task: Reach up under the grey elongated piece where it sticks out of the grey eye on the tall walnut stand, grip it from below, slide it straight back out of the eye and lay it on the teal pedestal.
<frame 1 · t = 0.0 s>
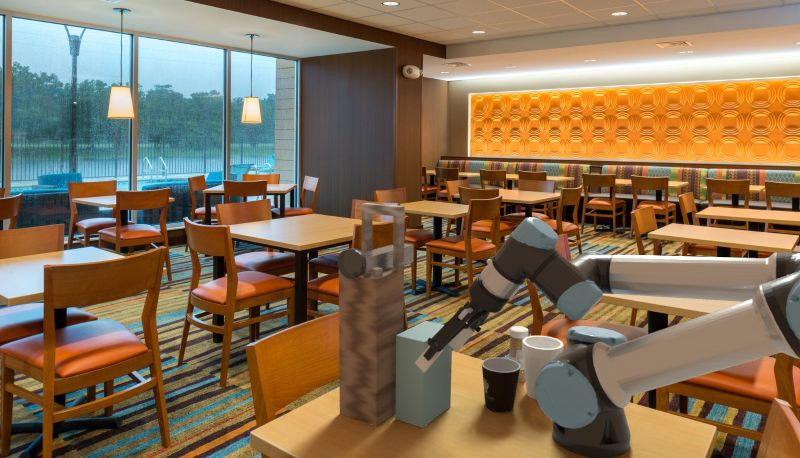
hand: (437, 357, 124), 15 cm above the table, tool tilted 35°, fingers open, 13 cm apart
grey elongated piece: (382, 268, 130), point 32 cm above the table, touching walnut stand
foam cup: (540, 395, 142), on the table
coffee mug: (499, 404, 137), on the table
teal pedestal: (423, 412, 132), on the table
walnut stand: (371, 411, 132), on the table
sprinkles bottle: (516, 380, 150), on the table
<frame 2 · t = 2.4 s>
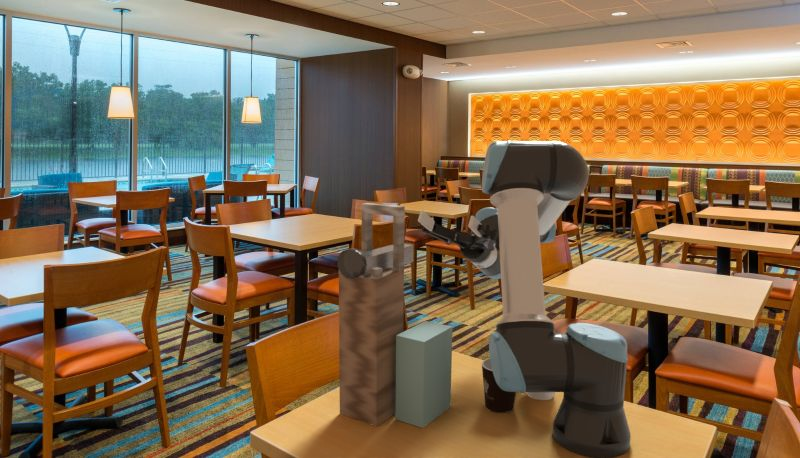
hand: (445, 218, 139), 42 cm above the table, tool pointing upward, fingers open, 13 cm apart
nothing on the table moved.
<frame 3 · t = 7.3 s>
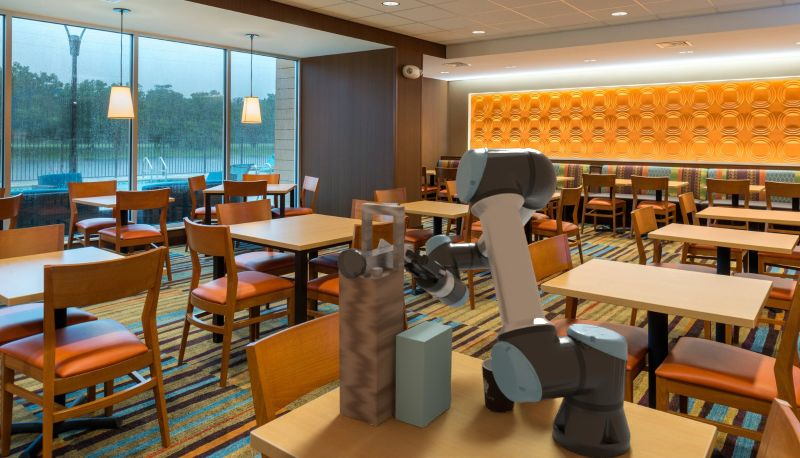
hand: (388, 245, 132), 37 cm above the table, tool pointing upward, fingers closed on grey elongated piece, 4 cm apart
grey elongated piece: (382, 268, 130), point 32 cm above the table, touching gripper, walnut stand
everything else where it was.
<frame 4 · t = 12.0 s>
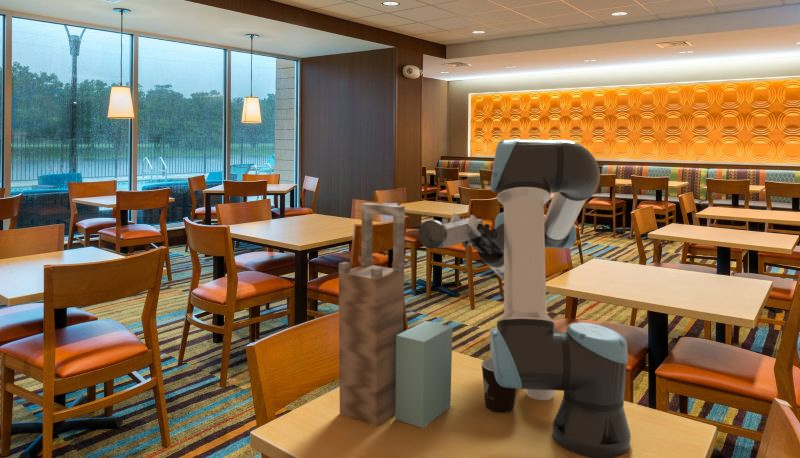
hand: (461, 219, 138), 42 cm above the table, tool pointing upward, fingers closed on grey elongated piece, 4 cm apart
grey elongated piece: (456, 240, 137), point 37 cm above the table, touching gripper
everything else where it was.
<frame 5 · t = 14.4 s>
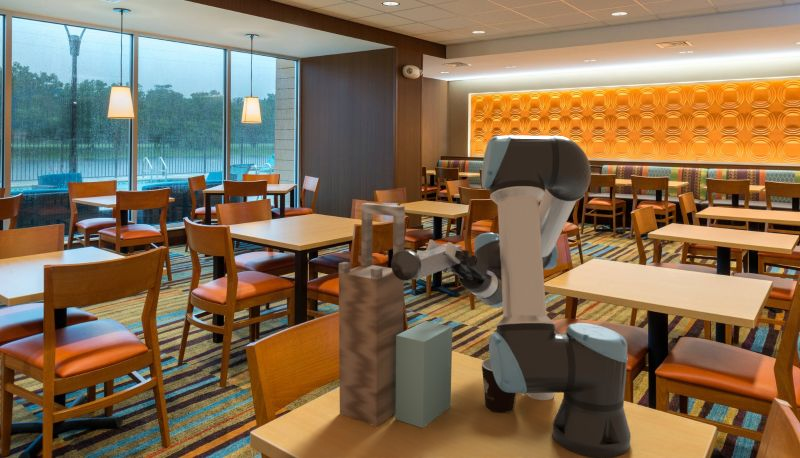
hand: (438, 246, 131), 37 cm above the table, tool pointing upward, fingers closed on grey elongated piece, 4 cm apart
grey elongated piece: (432, 269, 130), point 32 cm above the table, touching gripper
everything else where it was.
when the fingers open (25 cm above the table, at t = 16.7 s): grey elongated piece stays where it is, resting on teal pedestal.
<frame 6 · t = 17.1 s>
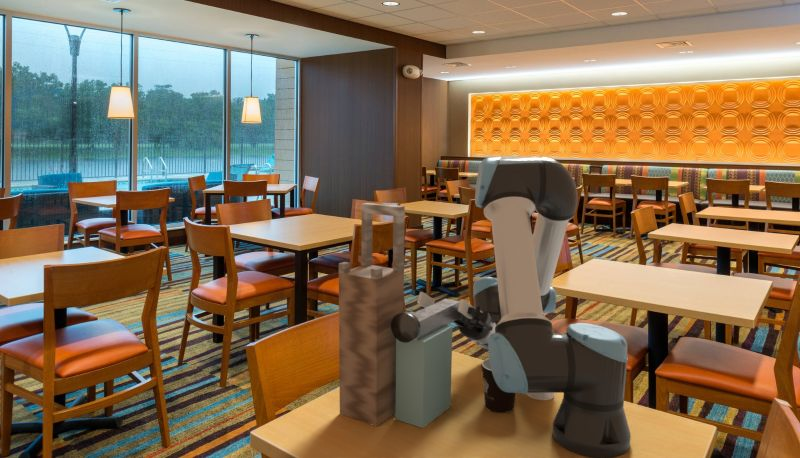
hand: (439, 301, 133), 24 cm above the table, tool pointing upward, fingers open, 10 cm apart
grey elongated piece: (432, 327, 131), point 19 cm above the table, touching teal pedestal
everything else where it was.
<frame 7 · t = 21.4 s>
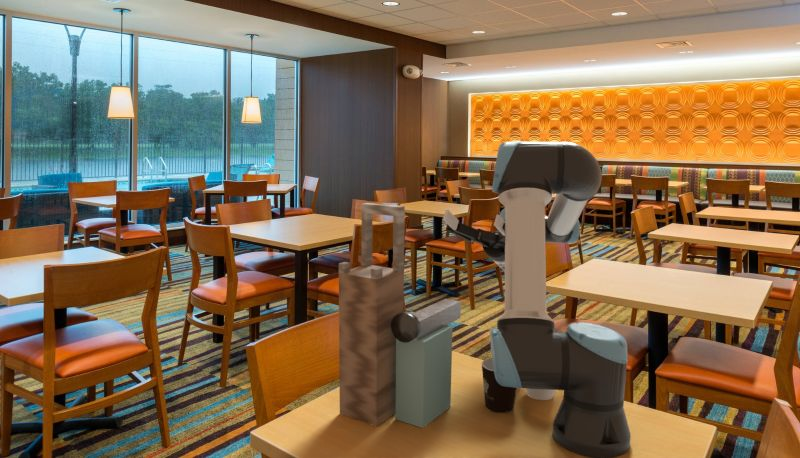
hand: (470, 217, 141), 42 cm above the table, tool pointing upward, fingers open, 13 cm apart
nothing on the table moved.
at the end: grey elongated piece inside the target area (0.6 cm from its centre), point 19.0 cm above the table; grey elongated piece touching teal pedestal; the gripper is holding nothing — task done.
